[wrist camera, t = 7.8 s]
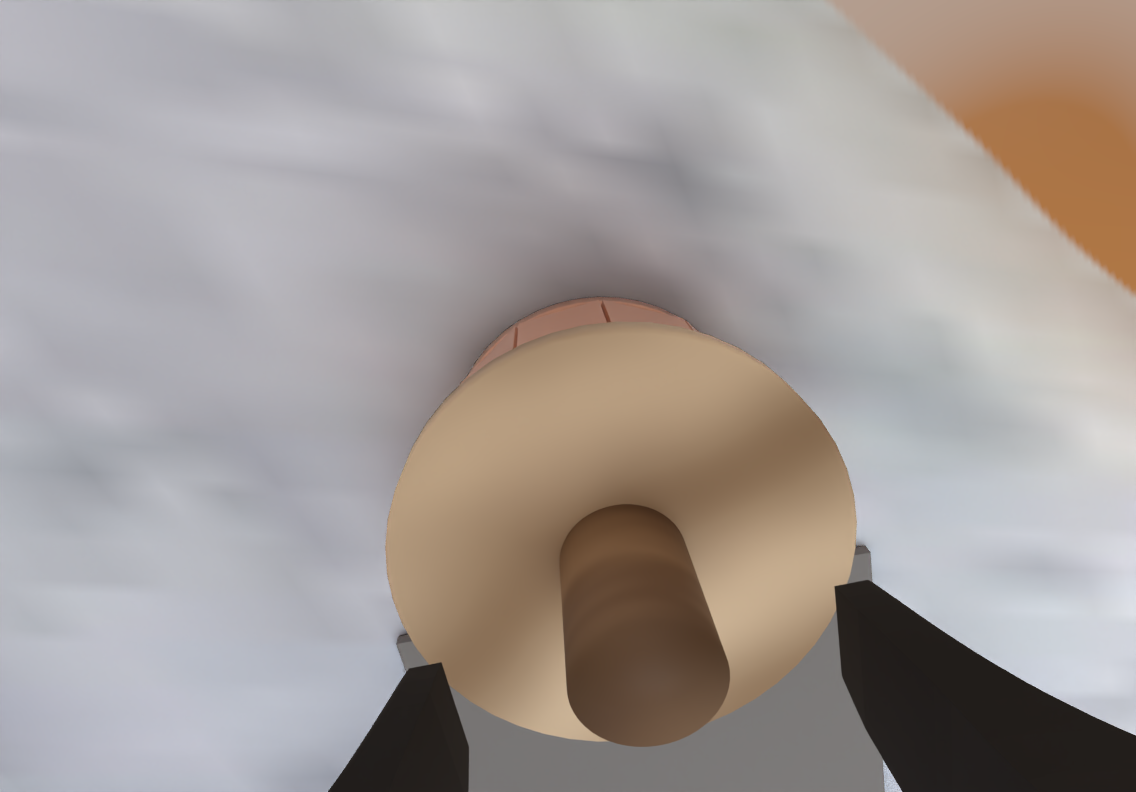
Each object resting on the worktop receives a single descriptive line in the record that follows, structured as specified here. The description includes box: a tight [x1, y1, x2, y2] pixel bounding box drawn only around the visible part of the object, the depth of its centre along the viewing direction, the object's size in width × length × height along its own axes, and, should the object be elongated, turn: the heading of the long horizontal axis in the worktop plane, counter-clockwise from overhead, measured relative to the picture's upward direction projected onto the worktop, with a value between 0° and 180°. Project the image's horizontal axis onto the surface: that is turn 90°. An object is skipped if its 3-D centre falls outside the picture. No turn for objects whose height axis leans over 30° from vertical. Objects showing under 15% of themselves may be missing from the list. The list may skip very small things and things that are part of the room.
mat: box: [397, 546, 885, 792], centre depth 27 cm, size 13×16×1 cm
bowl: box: [460, 297, 699, 385], centre depth 20 cm, size 9×9×5 cm
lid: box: [385, 322, 857, 747], centre depth 16 cm, size 11×11×5 cm
